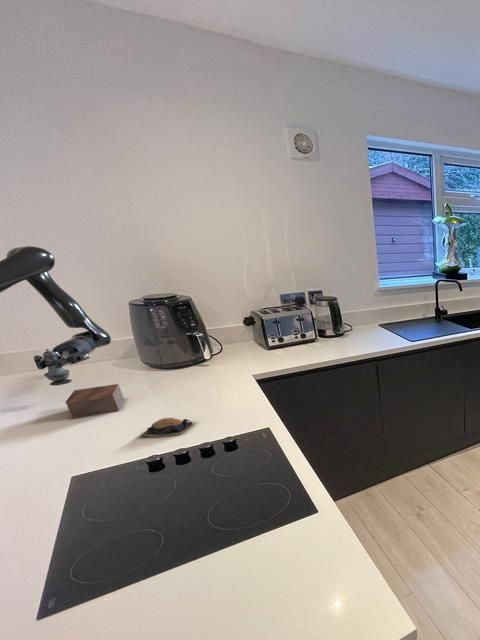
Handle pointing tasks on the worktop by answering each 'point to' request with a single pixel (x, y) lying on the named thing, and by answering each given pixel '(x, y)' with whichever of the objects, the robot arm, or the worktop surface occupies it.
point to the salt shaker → (55, 370)
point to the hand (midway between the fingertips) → (48, 365)
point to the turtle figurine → (168, 427)
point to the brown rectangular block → (95, 401)
